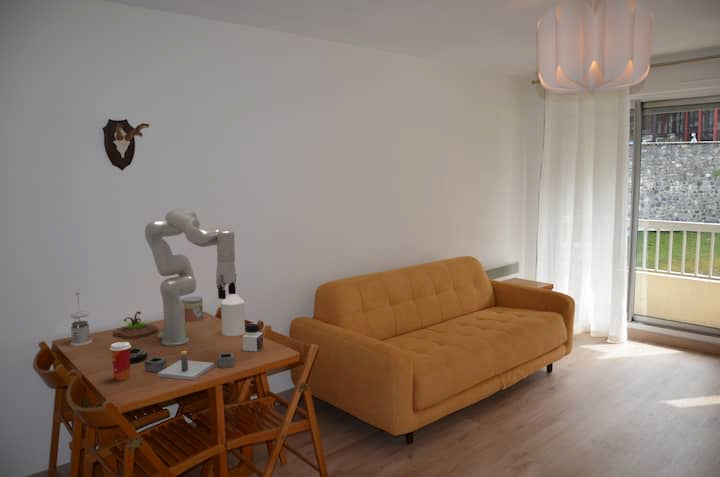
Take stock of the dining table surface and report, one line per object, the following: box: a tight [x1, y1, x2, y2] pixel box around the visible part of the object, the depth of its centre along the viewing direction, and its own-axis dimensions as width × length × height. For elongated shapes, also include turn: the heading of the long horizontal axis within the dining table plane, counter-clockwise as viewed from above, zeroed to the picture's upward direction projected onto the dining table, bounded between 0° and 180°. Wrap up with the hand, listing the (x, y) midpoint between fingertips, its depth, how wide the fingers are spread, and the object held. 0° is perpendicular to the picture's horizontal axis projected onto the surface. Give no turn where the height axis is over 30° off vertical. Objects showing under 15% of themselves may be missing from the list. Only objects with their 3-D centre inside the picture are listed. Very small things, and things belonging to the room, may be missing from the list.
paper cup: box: [109, 341, 132, 382], centre depth 216 cm, size 8×8×14 cm
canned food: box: [180, 295, 204, 323], centre depth 302 cm, size 11×11×12 cm
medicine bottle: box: [242, 322, 264, 353], centre depth 252 cm, size 7×7×12 cm
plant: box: [112, 311, 159, 340], centre depth 278 cm, size 20×20×11 cm
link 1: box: [144, 356, 167, 373], centre depth 227 cm, size 6×6×4 cm
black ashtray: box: [130, 347, 148, 364], centre depth 239 cm, size 12×12×4 cm
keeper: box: [157, 350, 215, 381], centre depth 224 cm, size 16×16×10 cm
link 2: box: [217, 352, 235, 369], centre depth 232 cm, size 6×6×4 cm
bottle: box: [220, 284, 246, 337], centre depth 276 cm, size 12×12×25 cm
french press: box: [69, 291, 93, 347], centre depth 262 cm, size 10×12×25 cm
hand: (227, 296), depth 240 cm, fingers open, 9 cm apart
